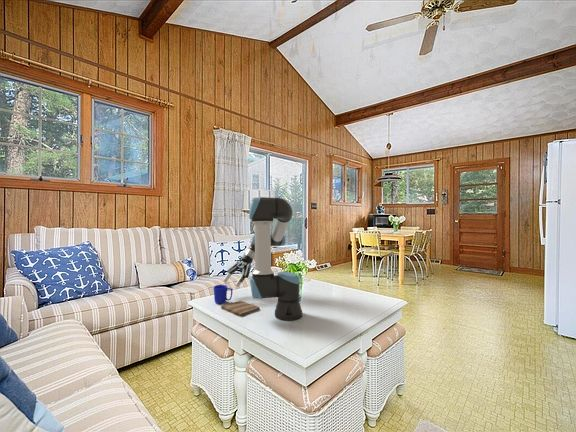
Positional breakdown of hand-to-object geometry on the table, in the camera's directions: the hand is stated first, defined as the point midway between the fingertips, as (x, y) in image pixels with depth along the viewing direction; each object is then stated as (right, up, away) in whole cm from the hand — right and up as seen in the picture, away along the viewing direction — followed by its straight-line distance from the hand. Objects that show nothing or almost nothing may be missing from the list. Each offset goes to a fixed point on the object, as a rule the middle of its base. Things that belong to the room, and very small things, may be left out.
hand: (230, 284), depth 178 cm
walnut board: (+9, -11, -16) cm, 22 cm away
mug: (-3, -11, -5) cm, 12 cm away
